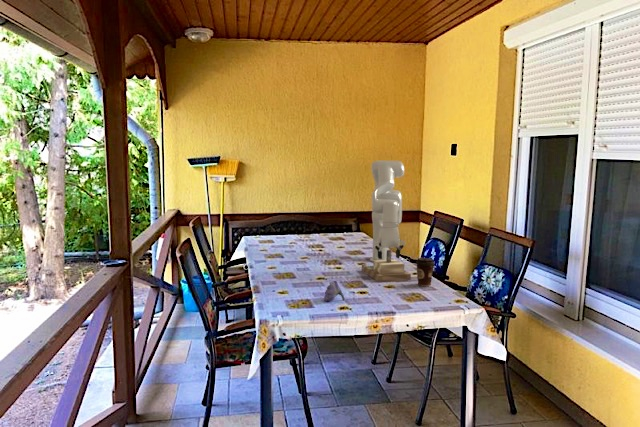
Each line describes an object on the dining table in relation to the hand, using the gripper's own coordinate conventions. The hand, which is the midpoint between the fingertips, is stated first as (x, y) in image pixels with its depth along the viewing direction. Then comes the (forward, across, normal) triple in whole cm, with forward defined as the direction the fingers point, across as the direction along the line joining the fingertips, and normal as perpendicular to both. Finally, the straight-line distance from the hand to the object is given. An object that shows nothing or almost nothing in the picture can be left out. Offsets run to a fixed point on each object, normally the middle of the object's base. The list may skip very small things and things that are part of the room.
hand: (388, 258), depth 250 cm
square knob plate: (+10, 0, 0) cm, 10 cm away
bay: (+10, 0, -5) cm, 11 cm away
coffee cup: (+10, -11, +18) cm, 24 cm away
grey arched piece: (+10, +39, +33) cm, 52 cm away
